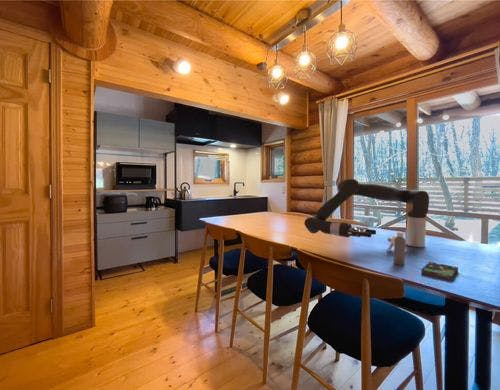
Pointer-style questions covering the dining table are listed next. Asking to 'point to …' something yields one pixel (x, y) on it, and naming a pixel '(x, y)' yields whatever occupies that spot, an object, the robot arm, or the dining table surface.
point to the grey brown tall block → (399, 249)
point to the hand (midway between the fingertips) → (373, 233)
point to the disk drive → (440, 271)
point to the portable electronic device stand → (392, 243)
